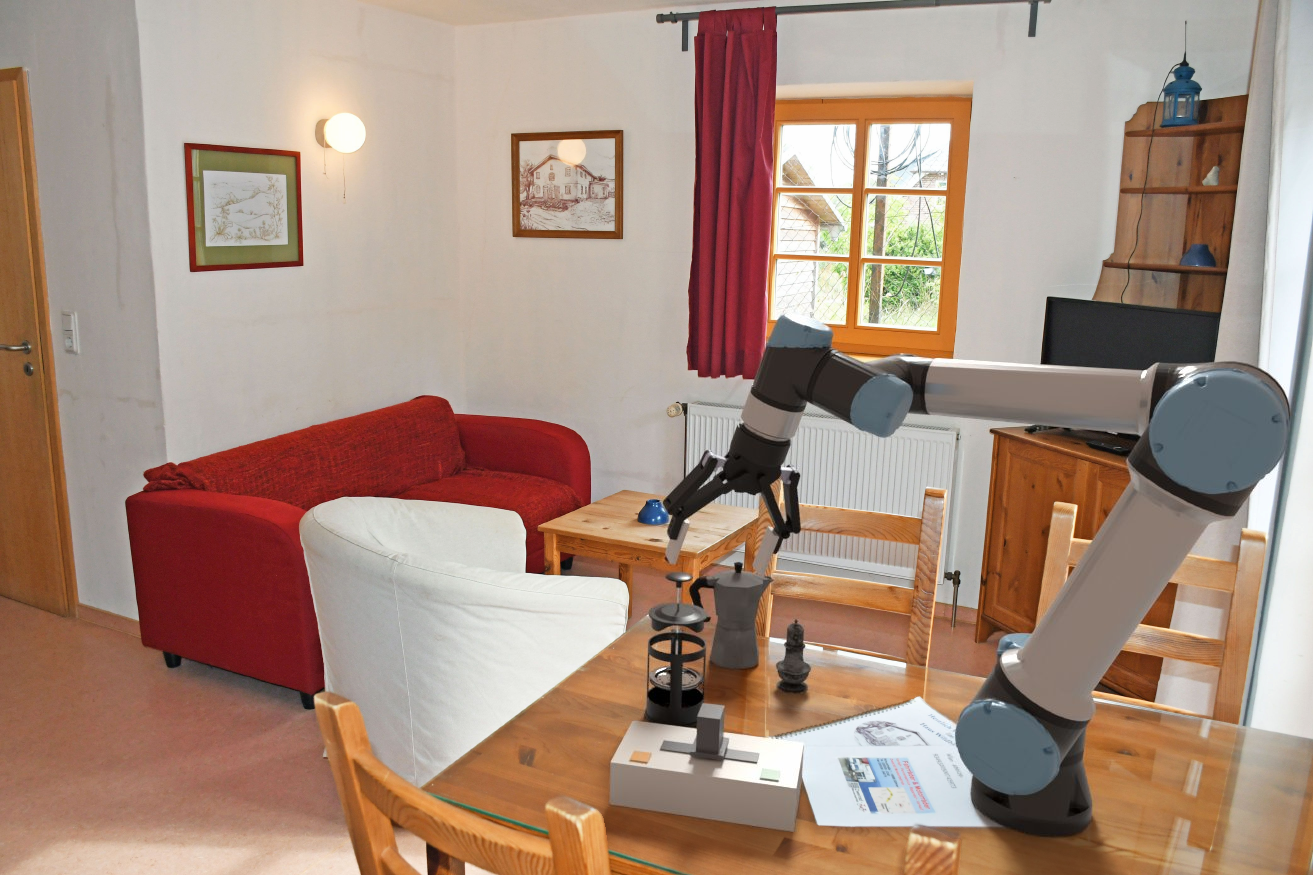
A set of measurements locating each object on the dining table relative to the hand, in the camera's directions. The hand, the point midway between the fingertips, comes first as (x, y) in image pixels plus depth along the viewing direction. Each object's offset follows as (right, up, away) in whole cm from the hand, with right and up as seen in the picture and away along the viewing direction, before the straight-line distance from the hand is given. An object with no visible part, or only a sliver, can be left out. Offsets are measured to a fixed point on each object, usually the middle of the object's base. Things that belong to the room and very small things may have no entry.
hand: (714, 565), depth 139 cm
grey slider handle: (-1, -24, -6) cm, 24 cm away
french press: (-5, -26, +18) cm, 32 cm away
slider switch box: (-1, -30, -5) cm, 30 cm away
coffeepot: (+5, -22, +39) cm, 45 cm away
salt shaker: (+15, -24, +28) cm, 40 cm away
